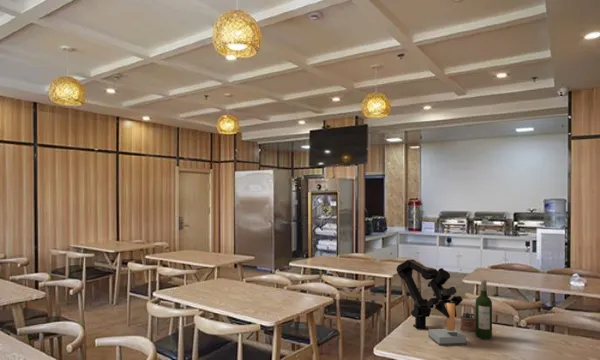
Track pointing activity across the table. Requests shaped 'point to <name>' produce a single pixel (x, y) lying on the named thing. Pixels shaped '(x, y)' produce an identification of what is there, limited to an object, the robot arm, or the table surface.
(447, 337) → the socket block
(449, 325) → the pin
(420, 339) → the table surface
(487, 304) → the wine bottle
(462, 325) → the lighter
